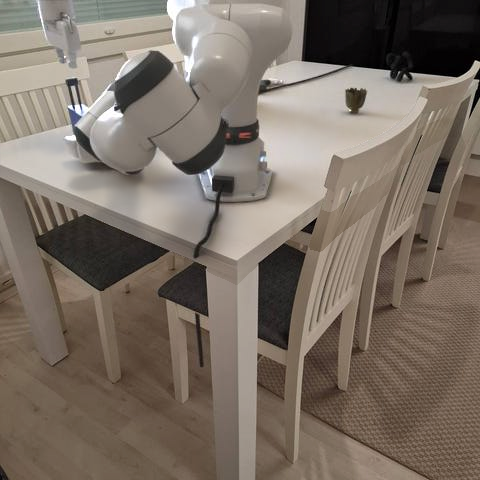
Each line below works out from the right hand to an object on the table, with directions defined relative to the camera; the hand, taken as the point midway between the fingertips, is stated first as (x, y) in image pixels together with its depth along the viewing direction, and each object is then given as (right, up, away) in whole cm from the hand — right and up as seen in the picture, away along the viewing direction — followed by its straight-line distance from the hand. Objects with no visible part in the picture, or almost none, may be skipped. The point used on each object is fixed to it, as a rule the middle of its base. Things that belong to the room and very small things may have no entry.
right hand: (93, 131), depth 130 cm
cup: (+83, +14, +29) cm, 89 cm away
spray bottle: (+51, +34, +62) cm, 87 cm away
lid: (-3, +6, +2) cm, 7 cm away
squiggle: (+115, +40, +71) cm, 141 cm away
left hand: (-7, +19, -1) cm, 20 cm away
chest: (-3, -2, +7) cm, 7 cm away
